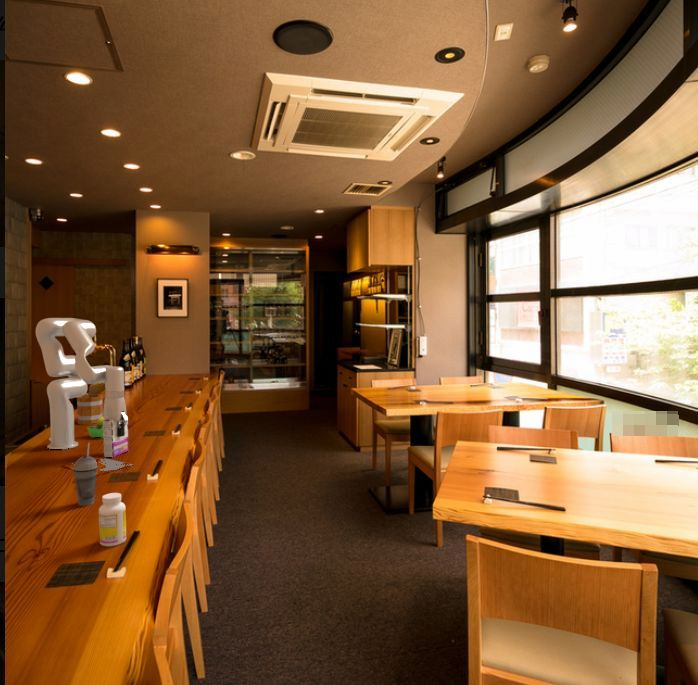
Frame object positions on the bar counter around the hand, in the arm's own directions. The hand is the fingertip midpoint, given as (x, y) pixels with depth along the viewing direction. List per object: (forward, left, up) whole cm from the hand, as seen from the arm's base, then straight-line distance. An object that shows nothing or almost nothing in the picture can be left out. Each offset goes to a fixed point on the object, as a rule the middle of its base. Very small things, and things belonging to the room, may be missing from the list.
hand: (115, 435), depth 227 cm
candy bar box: (0, 0, -9) cm, 9 cm away
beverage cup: (+44, -43, -9) cm, 62 cm away
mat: (+9, -15, -9) cm, 20 cm away
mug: (-76, +38, -9) cm, 85 cm away
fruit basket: (-36, +18, -9) cm, 41 cm away
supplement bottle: (+77, -57, -9) cm, 96 cm away
